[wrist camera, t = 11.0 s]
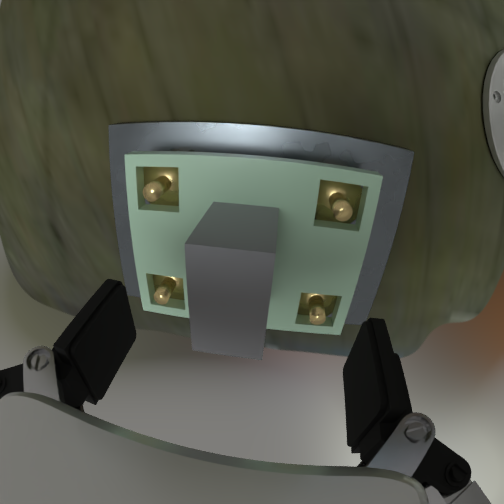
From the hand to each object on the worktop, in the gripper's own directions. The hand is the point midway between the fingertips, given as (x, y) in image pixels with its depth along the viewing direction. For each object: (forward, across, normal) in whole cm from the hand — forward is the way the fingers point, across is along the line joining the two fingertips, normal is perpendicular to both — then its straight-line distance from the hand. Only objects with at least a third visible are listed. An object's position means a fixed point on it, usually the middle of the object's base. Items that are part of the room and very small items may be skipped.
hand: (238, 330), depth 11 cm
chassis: (+11, +1, +1) cm, 11 cm away
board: (+8, +1, +1) cm, 8 cm away
